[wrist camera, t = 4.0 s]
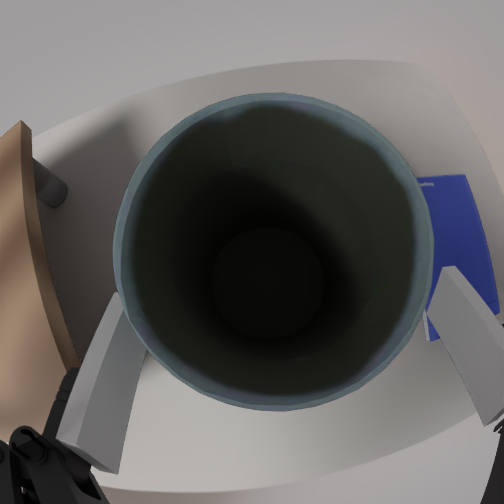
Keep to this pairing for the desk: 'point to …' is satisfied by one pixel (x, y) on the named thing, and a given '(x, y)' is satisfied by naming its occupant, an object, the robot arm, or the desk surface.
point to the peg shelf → (28, 291)
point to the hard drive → (457, 239)
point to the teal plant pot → (273, 252)
